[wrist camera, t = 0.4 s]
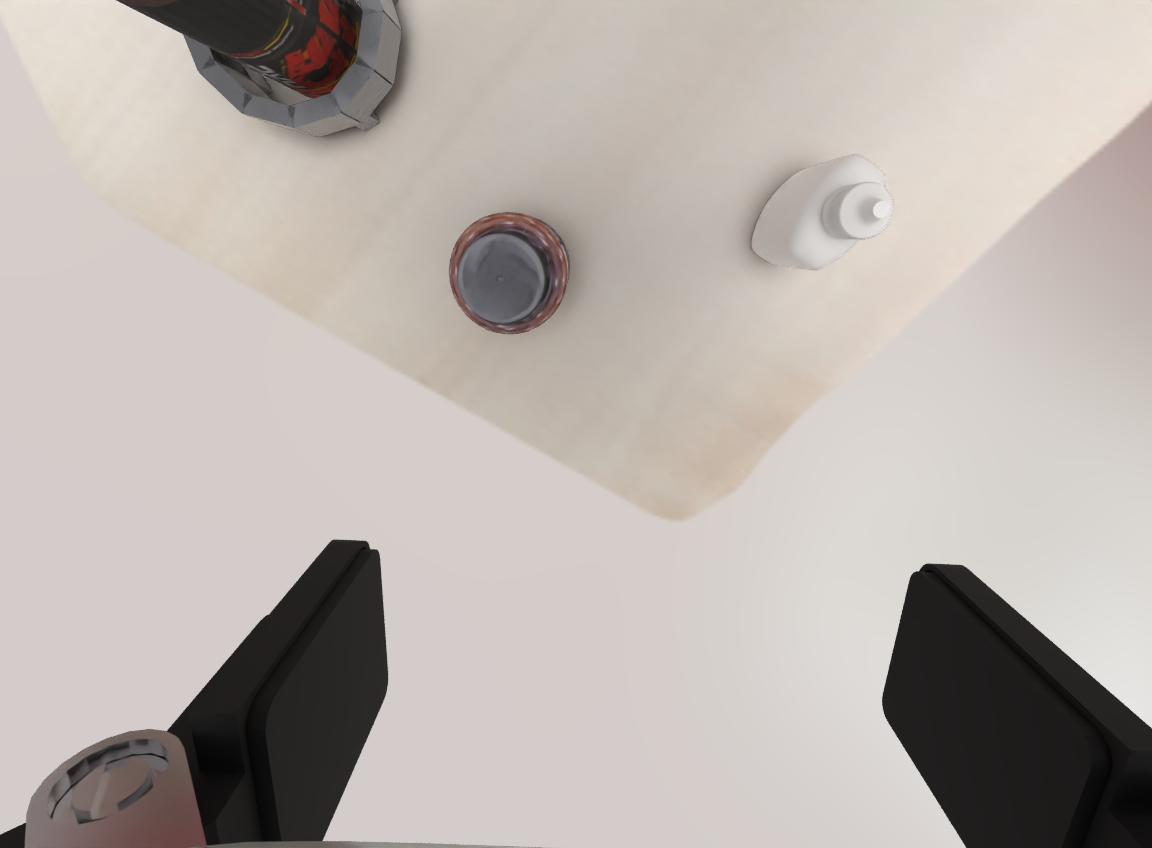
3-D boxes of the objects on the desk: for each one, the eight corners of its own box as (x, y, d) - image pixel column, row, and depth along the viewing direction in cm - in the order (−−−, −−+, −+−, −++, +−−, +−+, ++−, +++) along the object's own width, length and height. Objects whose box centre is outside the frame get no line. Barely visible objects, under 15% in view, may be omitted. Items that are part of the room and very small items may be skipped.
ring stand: (242, -87, 32) (182, -143, 27) (424, -31, 33) (396, -77, 28) (226, 112, 35) (170, 93, 30) (393, 159, 36) (363, 148, 31)
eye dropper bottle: (845, 226, 37) (963, 222, 25) (761, 273, 37) (838, 289, 26) (817, 159, 35) (928, 122, 24) (731, 208, 36) (798, 196, 25)
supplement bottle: (467, 300, 38) (420, 325, 27) (487, 204, 36) (446, 191, 26) (557, 324, 39) (546, 358, 28) (581, 231, 37) (580, 229, 26)
